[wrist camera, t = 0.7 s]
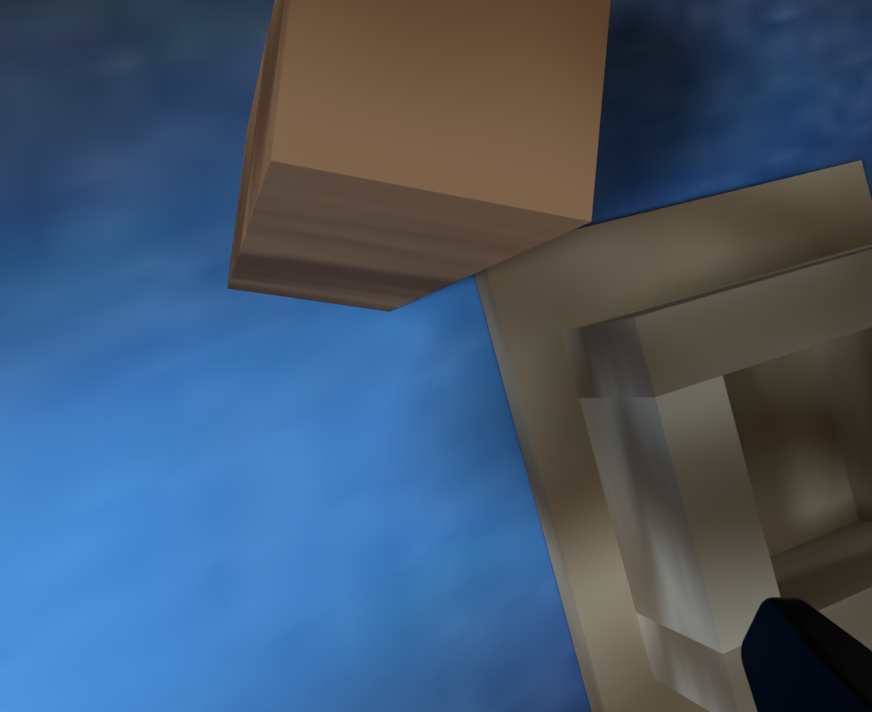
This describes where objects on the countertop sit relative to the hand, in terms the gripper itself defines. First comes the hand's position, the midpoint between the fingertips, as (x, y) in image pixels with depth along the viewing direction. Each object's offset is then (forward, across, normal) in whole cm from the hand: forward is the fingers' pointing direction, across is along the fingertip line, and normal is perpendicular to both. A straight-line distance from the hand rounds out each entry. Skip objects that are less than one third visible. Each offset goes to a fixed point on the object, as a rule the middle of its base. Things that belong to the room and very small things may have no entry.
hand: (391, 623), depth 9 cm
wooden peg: (+15, 0, +1) cm, 15 cm away
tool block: (+13, -13, +7) cm, 20 cm away
